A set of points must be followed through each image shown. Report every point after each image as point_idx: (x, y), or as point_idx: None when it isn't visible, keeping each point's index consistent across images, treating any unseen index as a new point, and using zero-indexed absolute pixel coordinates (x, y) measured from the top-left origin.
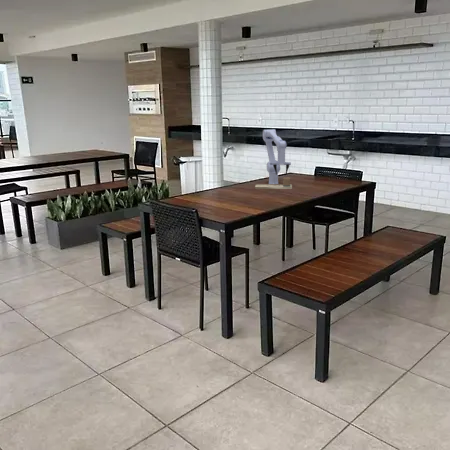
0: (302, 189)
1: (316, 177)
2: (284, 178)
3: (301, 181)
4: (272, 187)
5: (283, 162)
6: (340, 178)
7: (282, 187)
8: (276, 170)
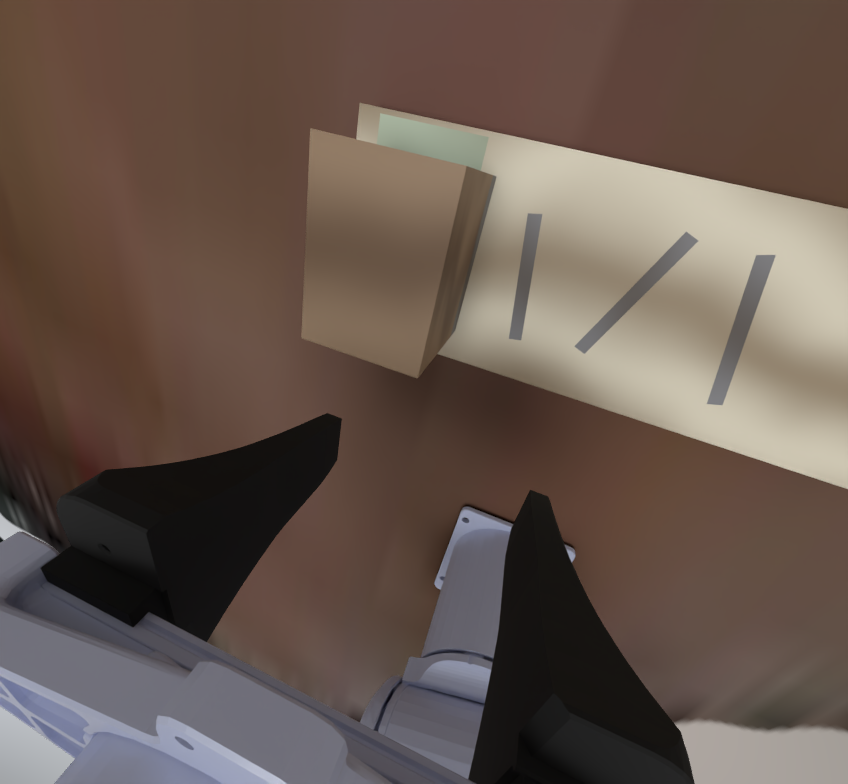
0: (233, 41)
1: None
2: (427, 212)
3: None
4: (725, 182)
5: (104, 779)
6: (28, 488)
7: (524, 140)
8: (539, 563)
